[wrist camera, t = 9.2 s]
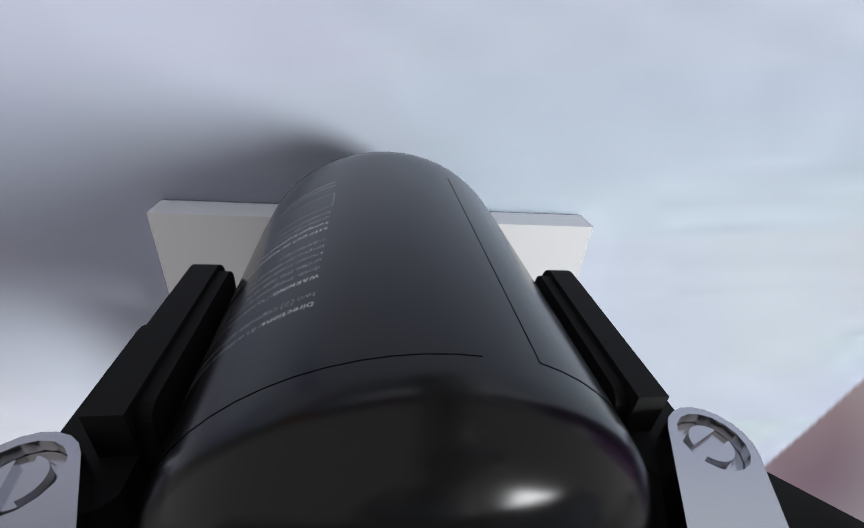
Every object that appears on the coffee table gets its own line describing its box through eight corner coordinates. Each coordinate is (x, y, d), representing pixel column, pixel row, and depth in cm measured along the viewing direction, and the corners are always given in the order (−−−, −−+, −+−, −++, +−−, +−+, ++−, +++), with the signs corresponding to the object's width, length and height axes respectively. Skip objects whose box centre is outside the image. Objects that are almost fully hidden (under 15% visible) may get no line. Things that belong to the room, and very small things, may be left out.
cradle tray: (161, 199, 13) (97, 254, 10) (581, 215, 15) (632, 264, 12) (234, 484, 20) (210, 564, 17) (506, 468, 22) (526, 537, 19)
